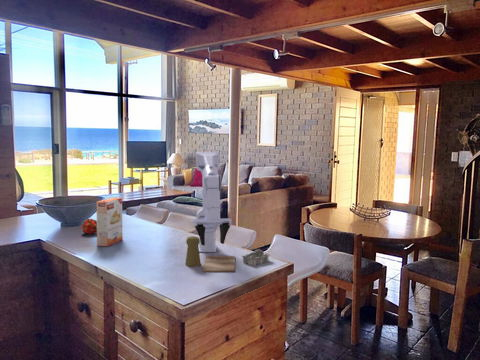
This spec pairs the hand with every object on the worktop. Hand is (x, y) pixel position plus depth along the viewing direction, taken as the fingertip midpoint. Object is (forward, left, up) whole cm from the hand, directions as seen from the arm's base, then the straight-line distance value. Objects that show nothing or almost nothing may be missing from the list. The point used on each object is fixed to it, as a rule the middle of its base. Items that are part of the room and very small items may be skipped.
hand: (212, 244), depth 143 cm
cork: (-9, -8, -11) cm, 16 cm away
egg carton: (-13, +17, -11) cm, 24 cm away
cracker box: (-40, -51, -11) cm, 66 cm away
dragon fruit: (-58, -67, -11) cm, 89 cm away
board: (-9, +2, -10) cm, 14 cm away
